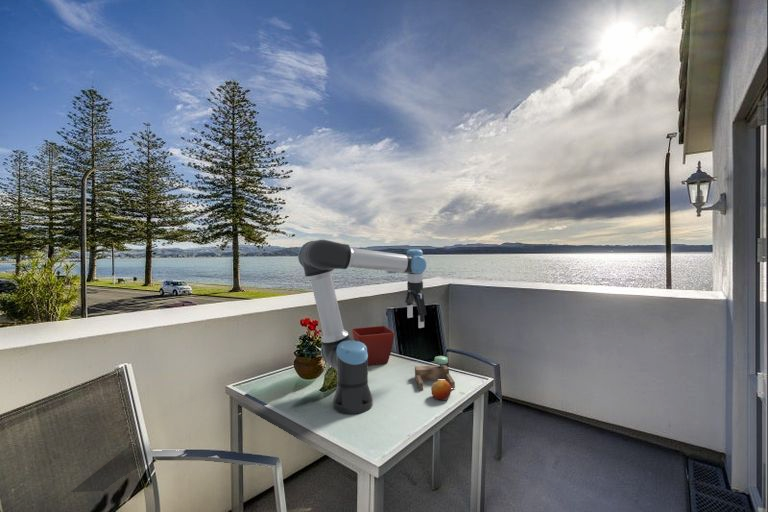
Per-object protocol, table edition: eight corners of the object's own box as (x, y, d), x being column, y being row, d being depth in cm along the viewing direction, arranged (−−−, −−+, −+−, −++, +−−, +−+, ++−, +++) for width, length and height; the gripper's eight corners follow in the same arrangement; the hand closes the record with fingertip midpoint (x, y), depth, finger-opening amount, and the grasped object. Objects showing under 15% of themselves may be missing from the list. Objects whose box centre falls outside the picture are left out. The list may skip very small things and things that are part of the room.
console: (416, 380, 150) (416, 369, 150) (414, 376, 155) (414, 366, 155) (449, 379, 151) (448, 368, 151) (446, 375, 156) (446, 365, 156)
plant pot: (352, 358, 185) (351, 328, 185) (384, 354, 191) (384, 325, 191) (360, 369, 167) (359, 335, 167) (395, 364, 173) (395, 332, 173)
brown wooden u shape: (419, 390, 139) (419, 383, 139) (416, 380, 150) (416, 374, 150) (454, 389, 140) (454, 382, 140) (449, 379, 151) (448, 373, 151)
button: (436, 375, 150) (435, 360, 150) (433, 370, 156) (433, 356, 156) (449, 374, 150) (448, 359, 150) (446, 370, 156) (446, 355, 156)
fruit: (454, 400, 126) (443, 381, 128) (437, 408, 128) (426, 389, 130) (457, 391, 134) (446, 373, 135) (440, 399, 136) (430, 382, 137)
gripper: (433, 286, 149) (433, 330, 153) (412, 274, 173) (412, 312, 177) (418, 288, 147) (419, 333, 151) (398, 275, 170) (399, 314, 174)
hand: (415, 322), depth 164 cm, fingers open, 13 cm apart
